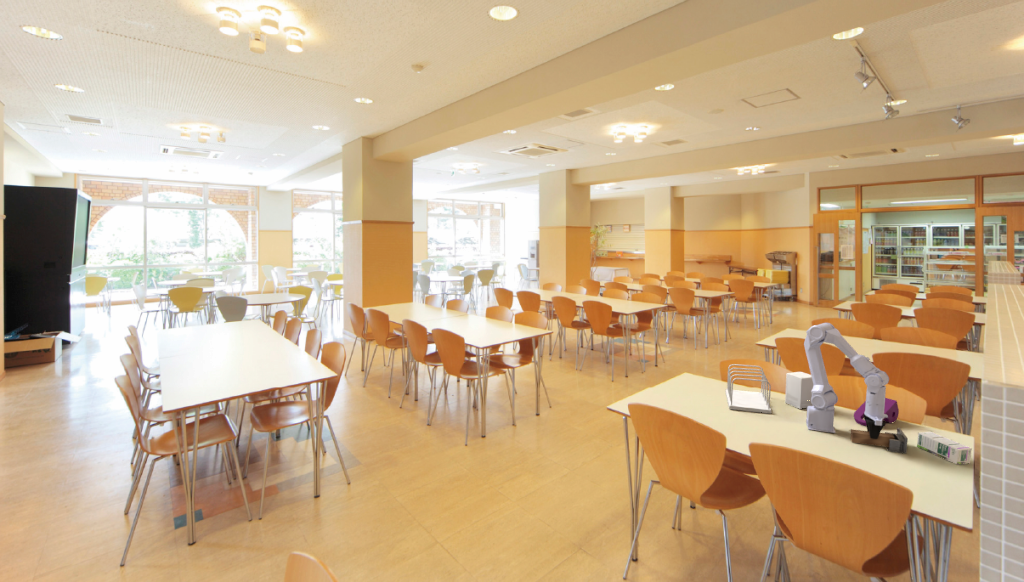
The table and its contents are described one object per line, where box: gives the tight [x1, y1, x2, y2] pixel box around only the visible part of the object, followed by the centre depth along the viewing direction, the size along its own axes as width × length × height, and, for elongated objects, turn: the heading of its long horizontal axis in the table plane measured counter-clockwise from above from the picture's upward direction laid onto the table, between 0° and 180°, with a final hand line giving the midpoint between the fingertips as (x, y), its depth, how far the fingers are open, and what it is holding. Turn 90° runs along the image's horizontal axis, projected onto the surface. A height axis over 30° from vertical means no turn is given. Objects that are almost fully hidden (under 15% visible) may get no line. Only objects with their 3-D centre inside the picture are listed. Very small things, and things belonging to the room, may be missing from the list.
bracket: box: [884, 427, 909, 455], centre depth 177 cm, size 5×10×6 cm, turn 153°
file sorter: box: [725, 363, 772, 414], centre depth 225 cm, size 25×17×16 cm
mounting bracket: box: [853, 397, 900, 427], centre depth 201 cm, size 9×8×18 cm
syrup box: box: [916, 431, 973, 465], centre depth 170 cm, size 6×6×14 cm
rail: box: [850, 428, 895, 448], centre depth 181 cm, size 13×3×4 cm, turn 63°
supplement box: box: [784, 371, 814, 410], centre depth 220 cm, size 9×9×15 cm
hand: (872, 436), depth 180 cm, fingers closed on rail, 3 cm apart
